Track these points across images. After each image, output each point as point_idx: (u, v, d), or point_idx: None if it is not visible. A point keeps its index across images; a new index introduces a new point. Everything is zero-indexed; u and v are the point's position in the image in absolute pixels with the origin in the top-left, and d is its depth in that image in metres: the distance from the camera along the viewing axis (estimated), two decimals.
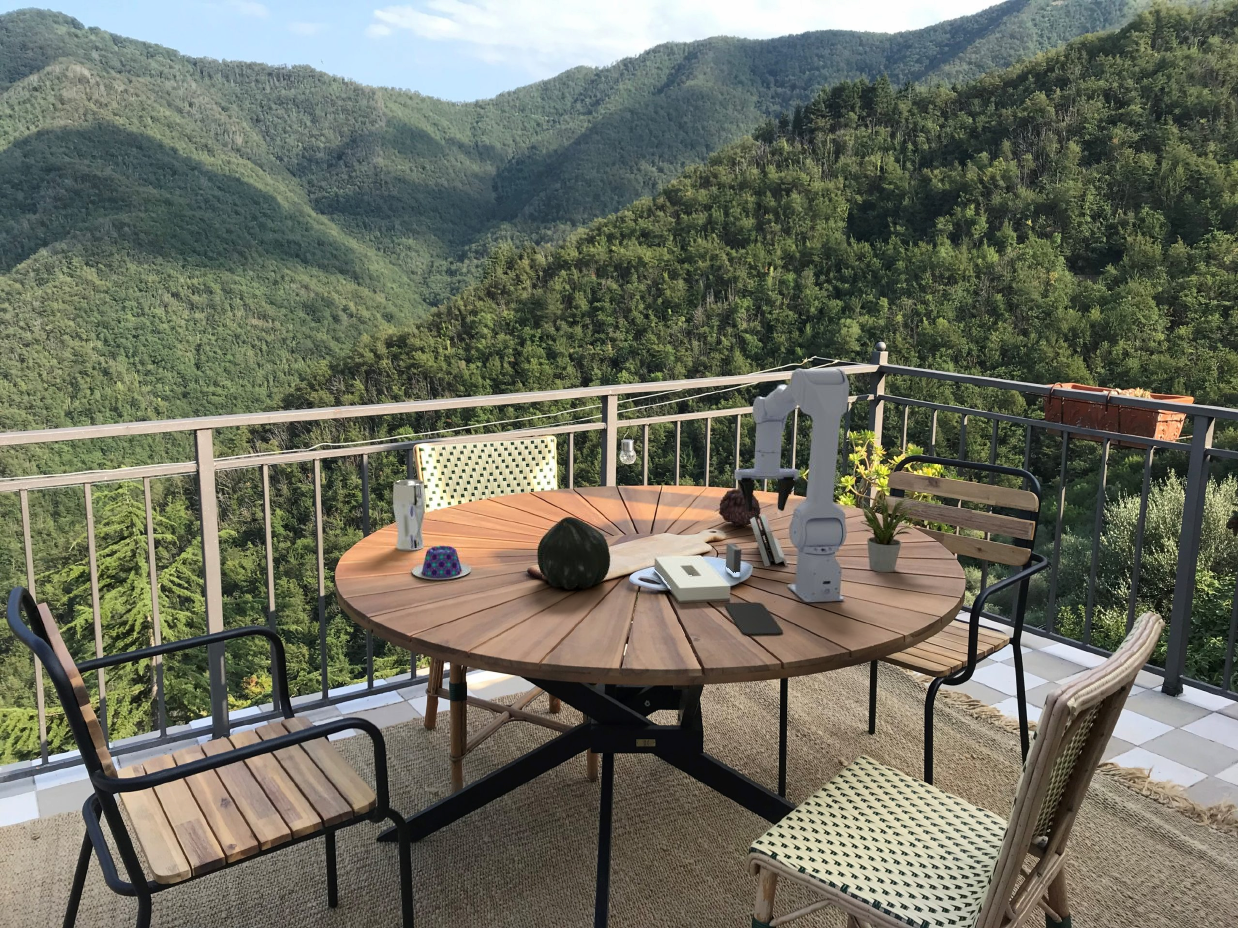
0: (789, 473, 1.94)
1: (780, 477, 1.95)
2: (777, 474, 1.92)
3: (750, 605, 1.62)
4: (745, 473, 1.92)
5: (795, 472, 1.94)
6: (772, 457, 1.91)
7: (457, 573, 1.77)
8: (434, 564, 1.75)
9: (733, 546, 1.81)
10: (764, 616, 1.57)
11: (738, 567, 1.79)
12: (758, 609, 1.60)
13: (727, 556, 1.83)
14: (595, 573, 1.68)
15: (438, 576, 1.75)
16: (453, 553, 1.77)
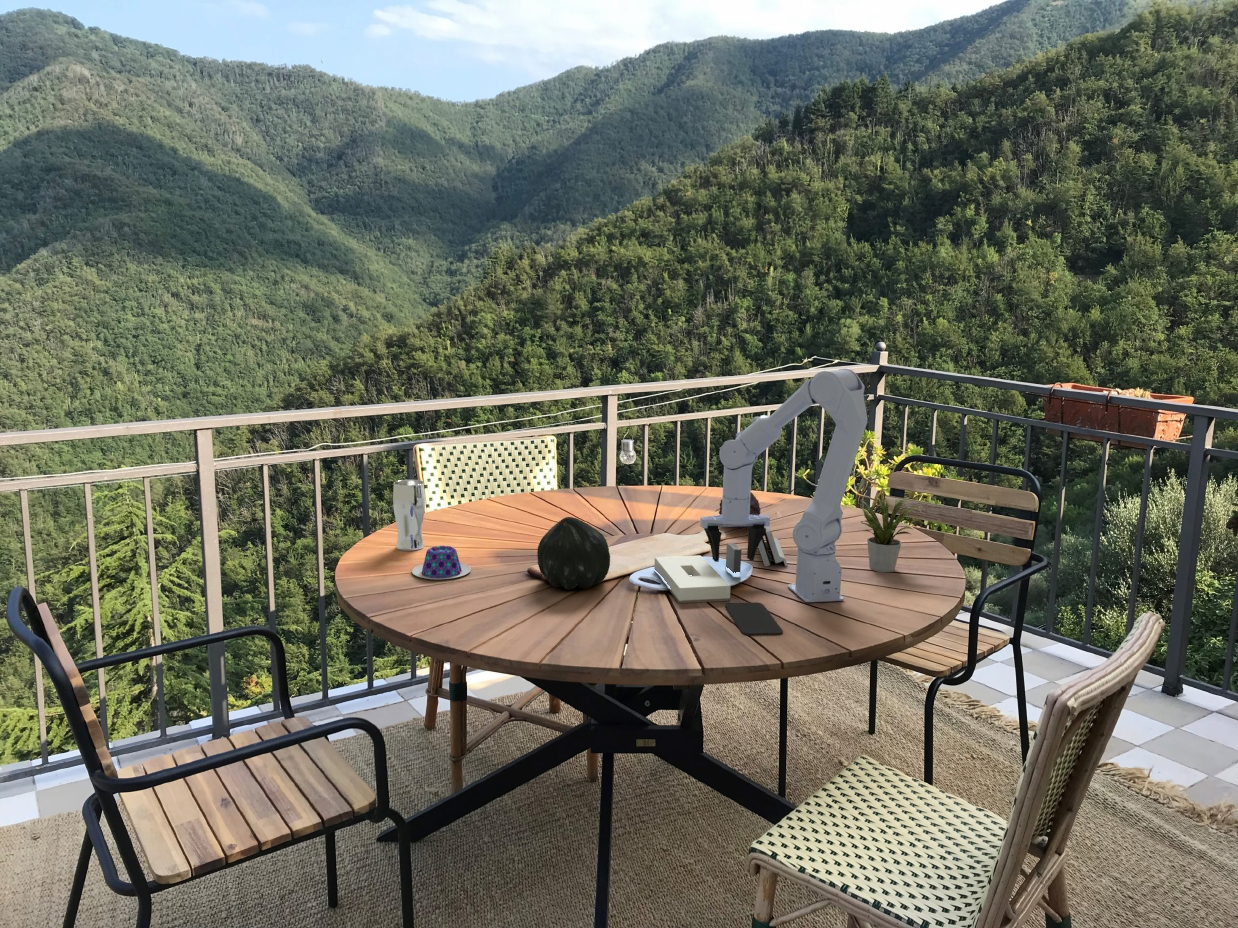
0: (759, 520, 1.79)
1: (749, 524, 1.80)
2: (746, 522, 1.78)
3: (750, 605, 1.62)
4: (711, 521, 1.78)
5: (766, 519, 1.80)
6: (740, 504, 1.76)
7: (457, 573, 1.77)
8: (434, 564, 1.75)
9: (733, 546, 1.81)
10: (764, 616, 1.57)
11: (738, 567, 1.79)
12: (758, 609, 1.60)
13: (727, 556, 1.83)
14: (595, 573, 1.68)
15: (438, 576, 1.75)
16: (453, 553, 1.77)
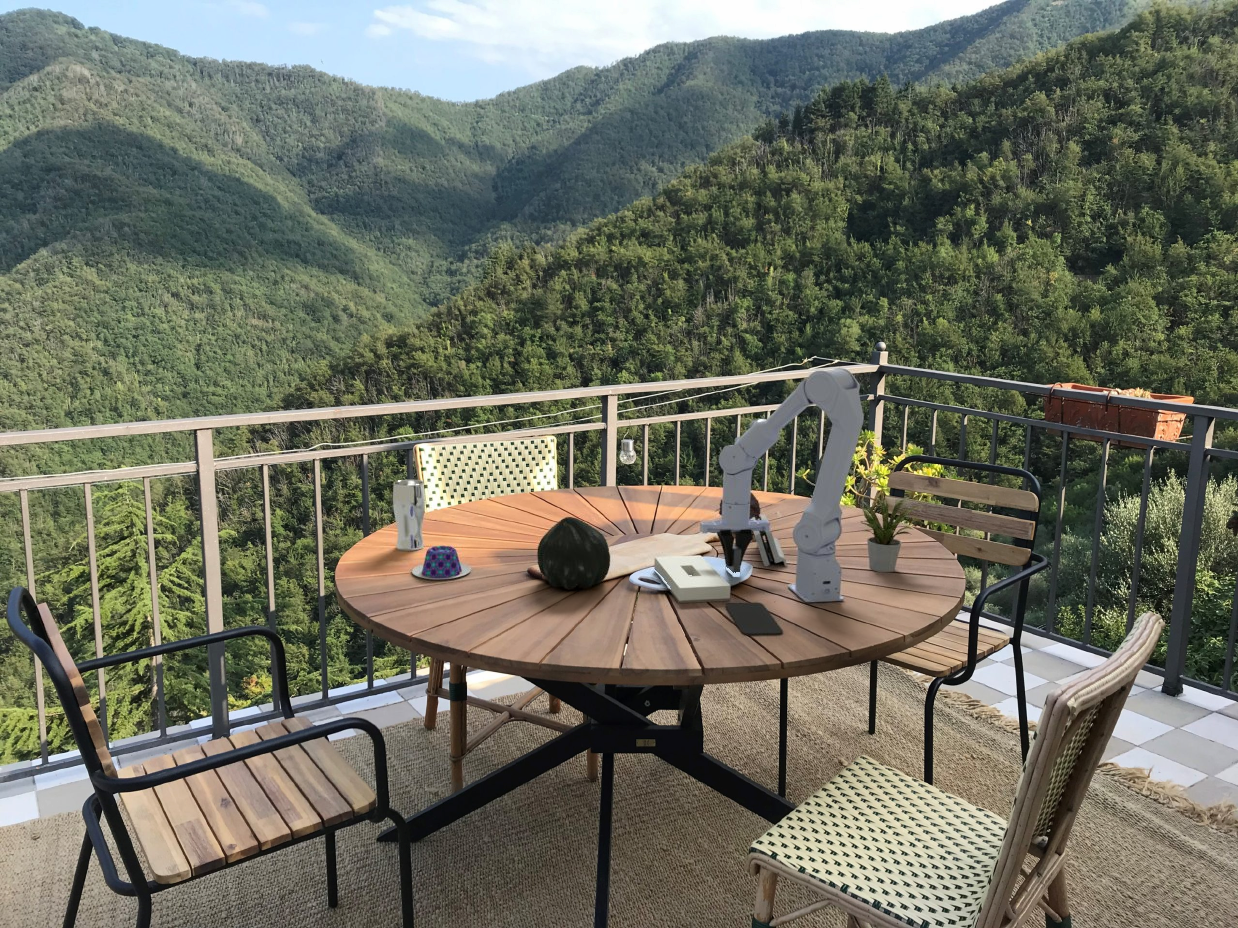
0: (759, 525, 1.80)
1: (749, 529, 1.81)
2: (746, 527, 1.78)
3: (750, 605, 1.62)
4: (711, 526, 1.78)
5: (765, 524, 1.80)
6: (740, 509, 1.77)
7: (456, 573, 1.77)
8: (434, 564, 1.75)
9: (733, 546, 1.81)
10: (764, 616, 1.57)
11: (738, 567, 1.79)
12: (758, 609, 1.60)
13: None
14: (595, 573, 1.68)
15: (437, 576, 1.75)
16: (453, 553, 1.77)
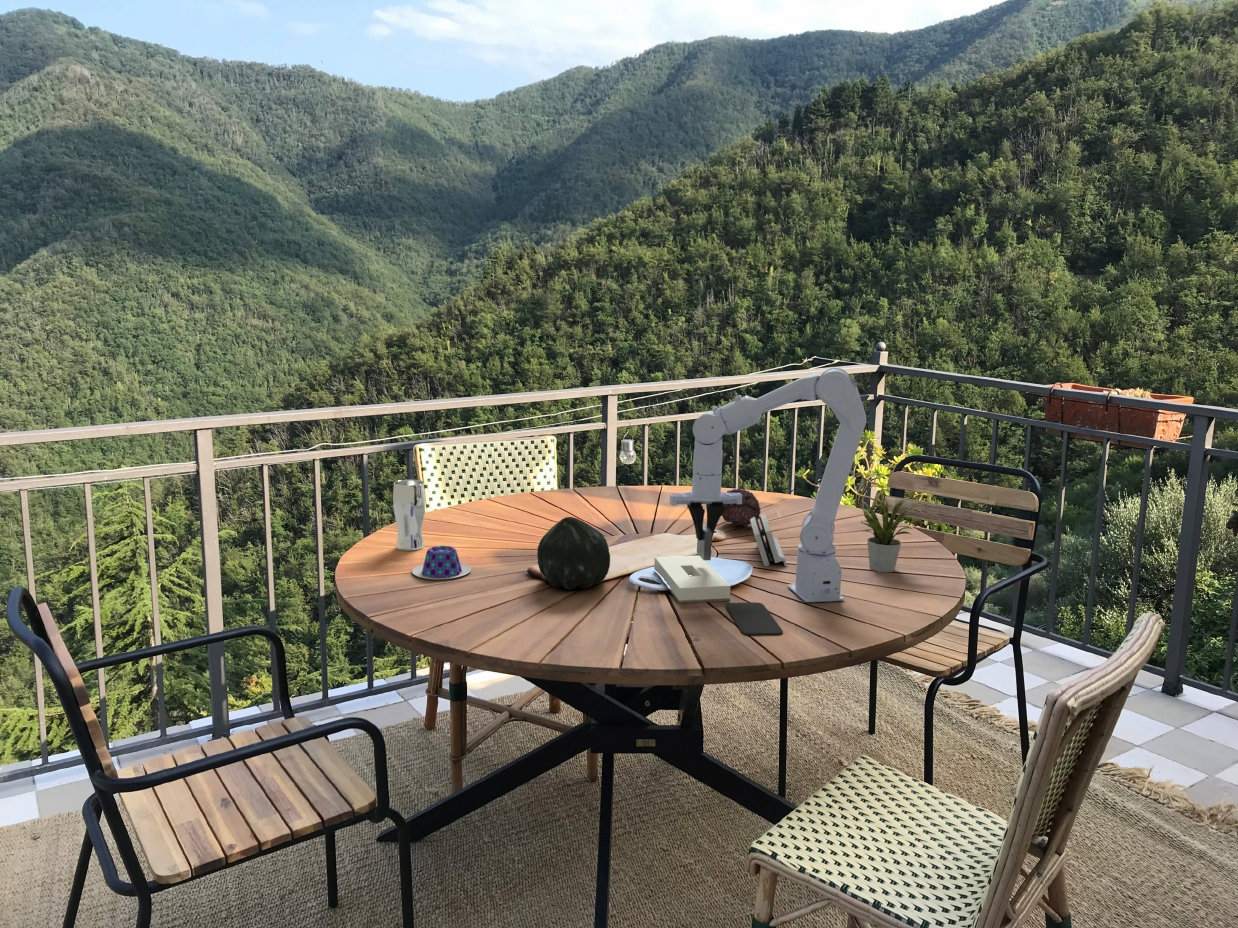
0: (731, 498, 1.73)
1: None
2: (717, 499, 1.71)
3: (750, 605, 1.62)
4: (681, 498, 1.71)
5: (738, 497, 1.73)
6: (711, 480, 1.70)
7: (456, 573, 1.77)
8: (433, 564, 1.75)
9: (704, 528, 1.74)
10: (764, 616, 1.57)
11: (709, 550, 1.73)
12: (758, 609, 1.60)
13: None
14: (595, 573, 1.68)
15: (437, 576, 1.75)
16: (452, 553, 1.77)
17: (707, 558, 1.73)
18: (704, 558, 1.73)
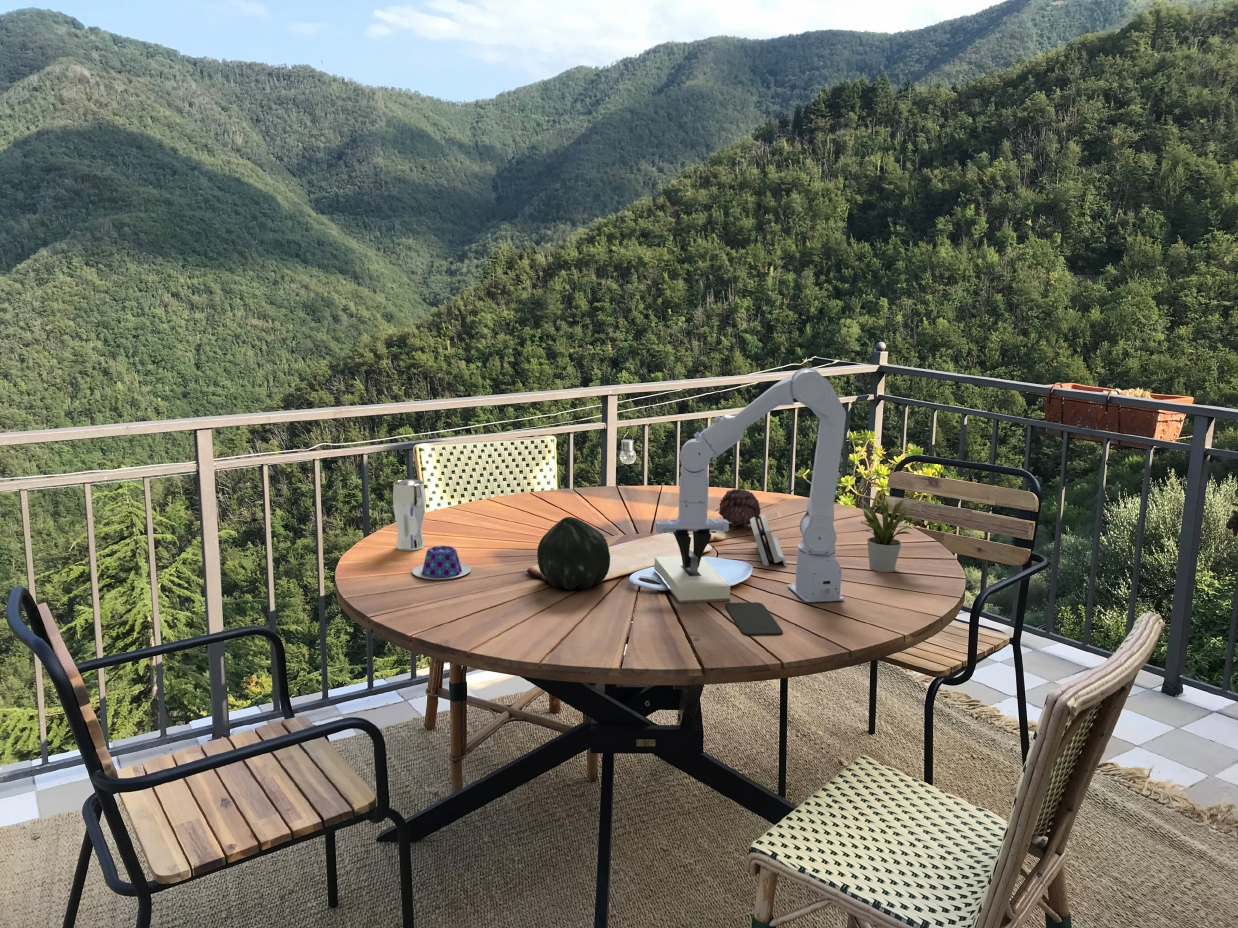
0: (717, 525, 1.71)
1: (708, 529, 1.72)
2: (703, 527, 1.70)
3: (750, 605, 1.62)
4: (667, 525, 1.70)
5: (724, 524, 1.72)
6: (697, 508, 1.68)
7: (456, 573, 1.77)
8: (433, 564, 1.75)
9: (690, 553, 1.73)
10: (764, 616, 1.57)
11: (695, 575, 1.71)
12: (758, 609, 1.60)
13: None
14: (595, 573, 1.68)
15: (436, 576, 1.75)
16: (452, 553, 1.77)
17: None
18: None
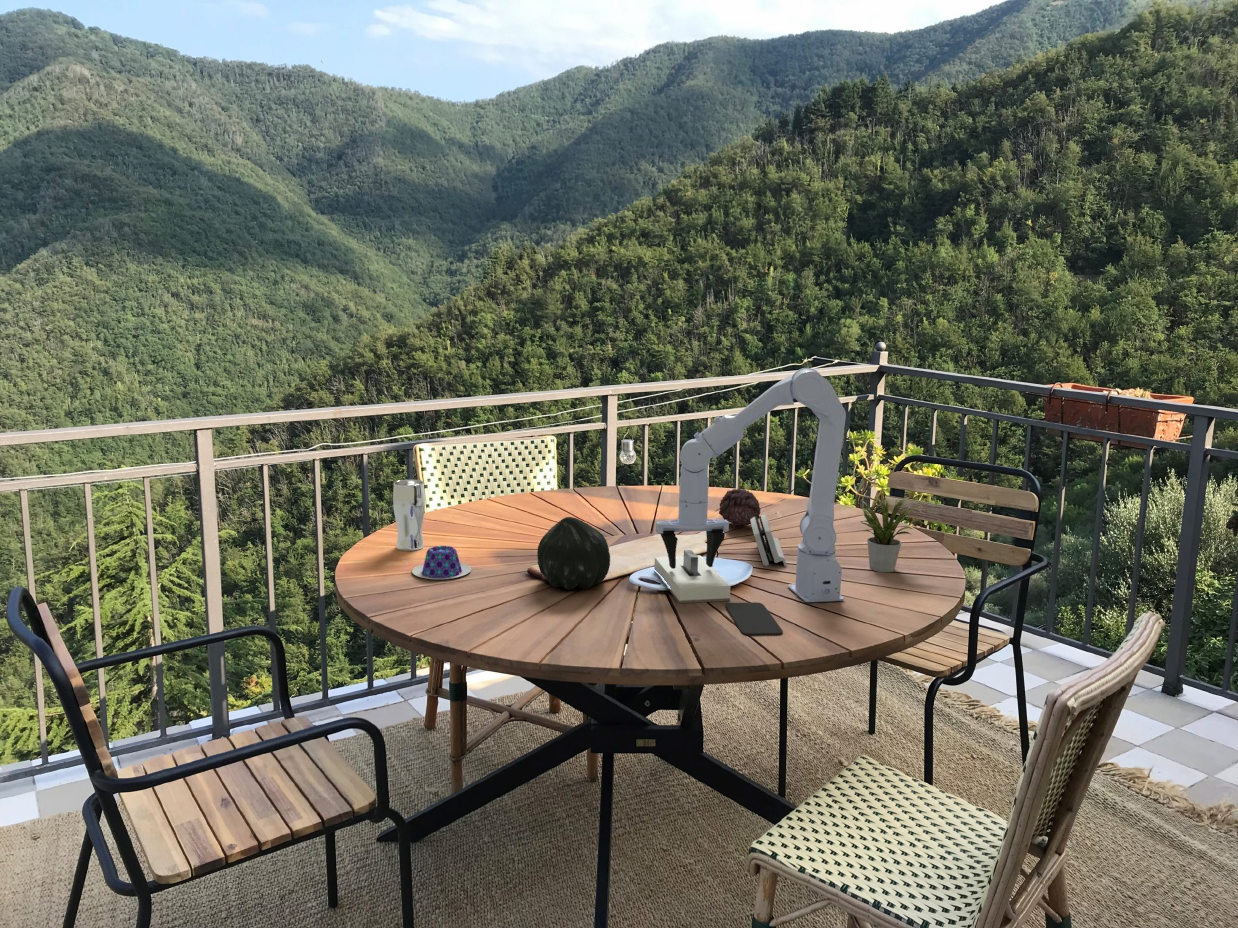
0: (717, 525, 1.71)
1: (708, 529, 1.72)
2: (703, 527, 1.70)
3: (750, 605, 1.62)
4: (667, 526, 1.70)
5: (724, 524, 1.72)
6: (697, 508, 1.68)
7: (455, 574, 1.77)
8: (432, 564, 1.75)
9: (690, 553, 1.73)
10: (764, 616, 1.57)
11: (695, 575, 1.71)
12: (758, 609, 1.60)
13: (684, 564, 1.75)
14: (595, 573, 1.68)
15: (436, 576, 1.75)
16: (452, 553, 1.77)
17: None
18: None
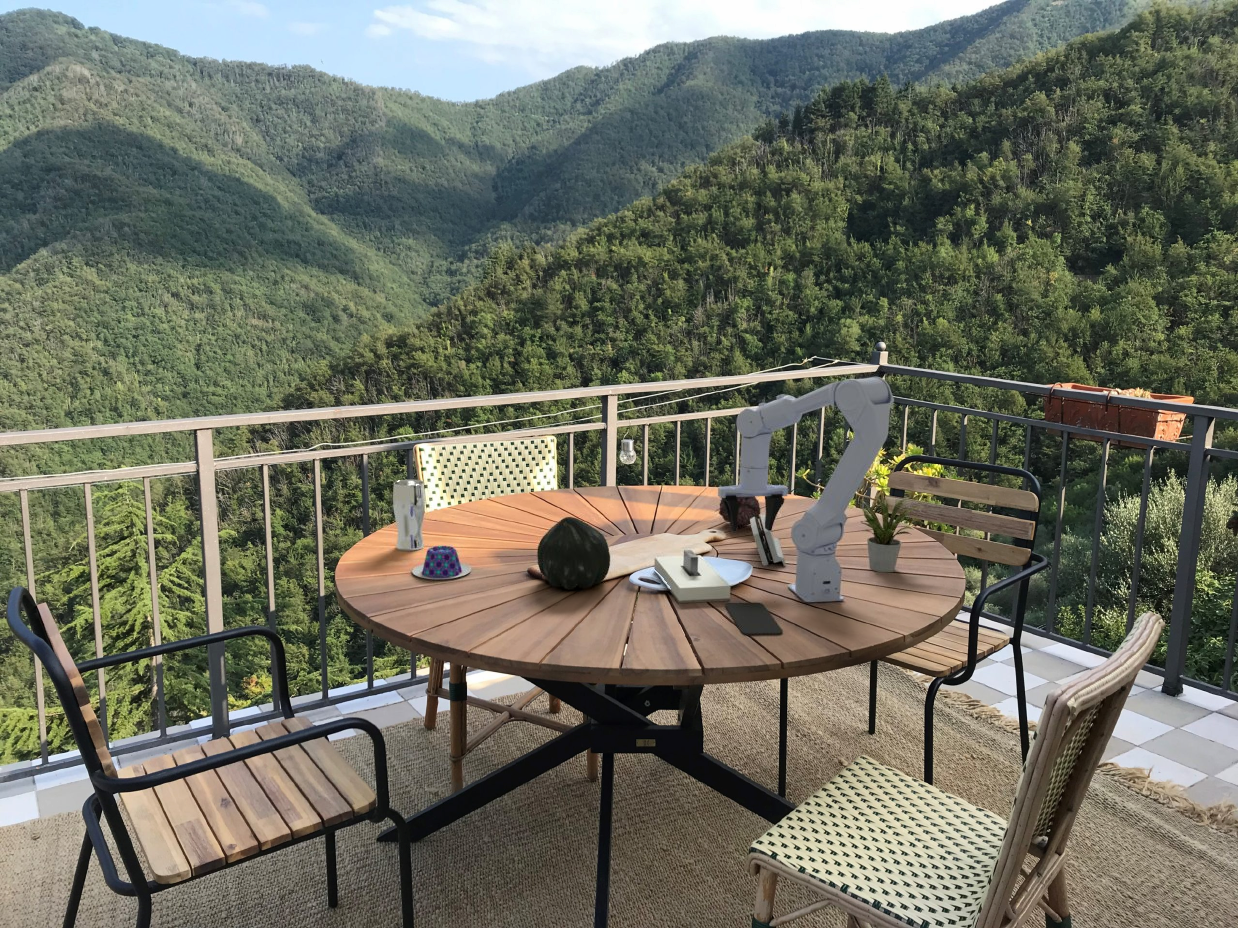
0: (777, 490, 1.79)
1: (767, 494, 1.80)
2: (764, 491, 1.77)
3: (750, 605, 1.62)
4: (729, 490, 1.77)
5: (784, 489, 1.79)
6: (759, 473, 1.76)
7: (455, 574, 1.77)
8: (432, 564, 1.75)
9: (690, 553, 1.73)
10: (764, 616, 1.57)
11: (695, 575, 1.71)
12: (758, 609, 1.60)
13: (684, 564, 1.75)
14: (595, 573, 1.68)
15: (435, 576, 1.75)
16: (452, 554, 1.77)
17: None
18: None
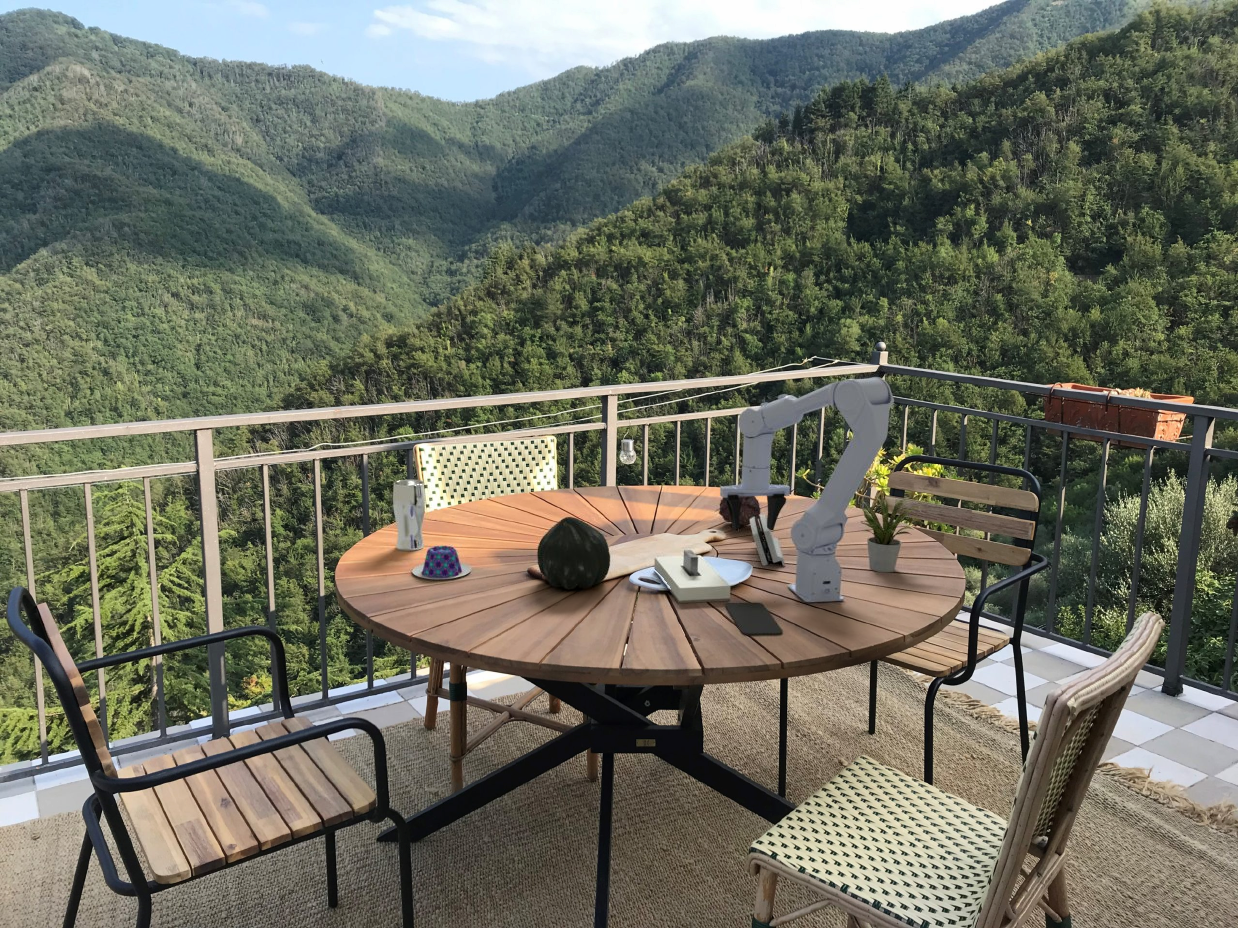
0: (779, 490, 1.79)
1: (769, 494, 1.80)
2: (766, 491, 1.77)
3: (750, 605, 1.62)
4: (731, 490, 1.77)
5: (786, 489, 1.80)
6: (761, 473, 1.76)
7: (454, 574, 1.77)
8: (431, 564, 1.75)
9: (690, 553, 1.73)
10: (764, 616, 1.57)
11: (695, 575, 1.71)
12: (758, 609, 1.60)
13: (684, 564, 1.75)
14: (595, 573, 1.68)
15: (434, 576, 1.75)
16: (451, 554, 1.77)
17: None
18: None
